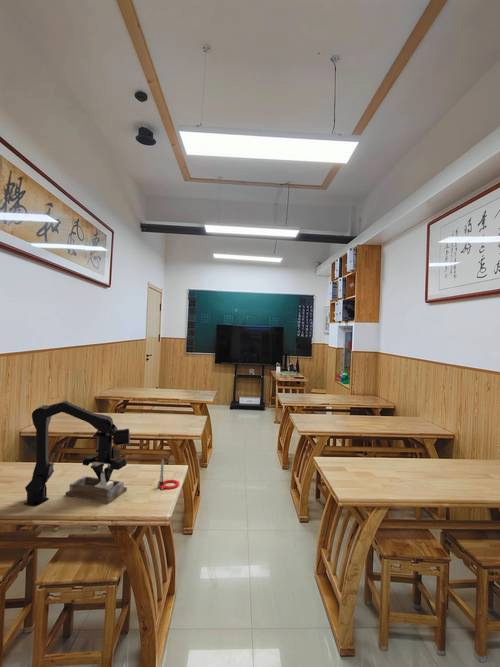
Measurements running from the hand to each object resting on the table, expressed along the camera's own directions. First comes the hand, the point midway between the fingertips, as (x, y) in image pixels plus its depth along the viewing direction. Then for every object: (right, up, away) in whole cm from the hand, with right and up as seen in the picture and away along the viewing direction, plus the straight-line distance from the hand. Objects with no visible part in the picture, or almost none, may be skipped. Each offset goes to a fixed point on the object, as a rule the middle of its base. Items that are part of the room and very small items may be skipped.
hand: (104, 481), depth 144 cm
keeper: (0, -4, 0) cm, 4 cm away
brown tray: (-4, -6, +1) cm, 7 cm away
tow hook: (+26, -7, +10) cm, 29 cm away
